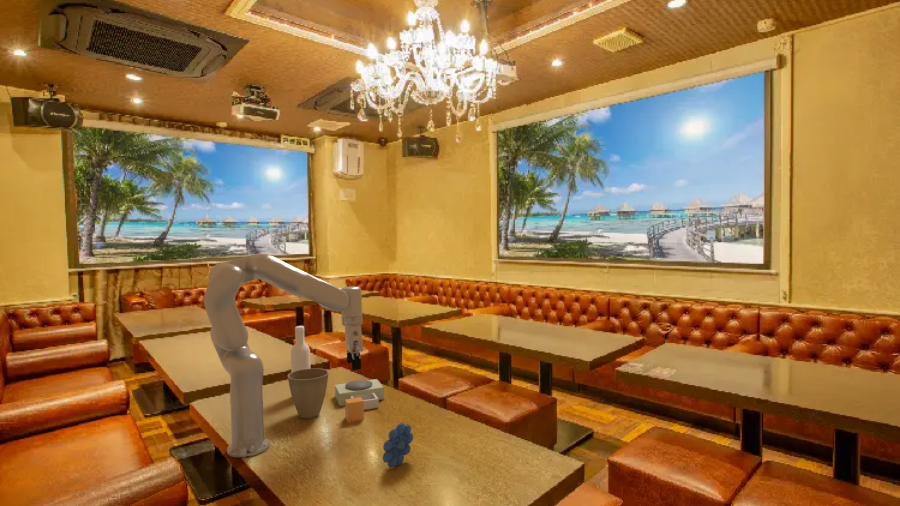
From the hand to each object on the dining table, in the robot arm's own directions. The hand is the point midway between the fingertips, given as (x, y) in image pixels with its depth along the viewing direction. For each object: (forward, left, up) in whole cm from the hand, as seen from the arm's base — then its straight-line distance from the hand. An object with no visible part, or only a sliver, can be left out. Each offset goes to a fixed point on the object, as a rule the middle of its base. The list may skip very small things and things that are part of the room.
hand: (354, 366), depth 171 cm
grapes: (-39, -5, -20) cm, 44 cm away
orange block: (0, 0, -20) cm, 20 cm away
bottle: (+33, +16, -20) cm, 42 cm away
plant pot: (+11, +15, -20) cm, 27 cm away
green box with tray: (+17, -6, -20) cm, 27 cm away
